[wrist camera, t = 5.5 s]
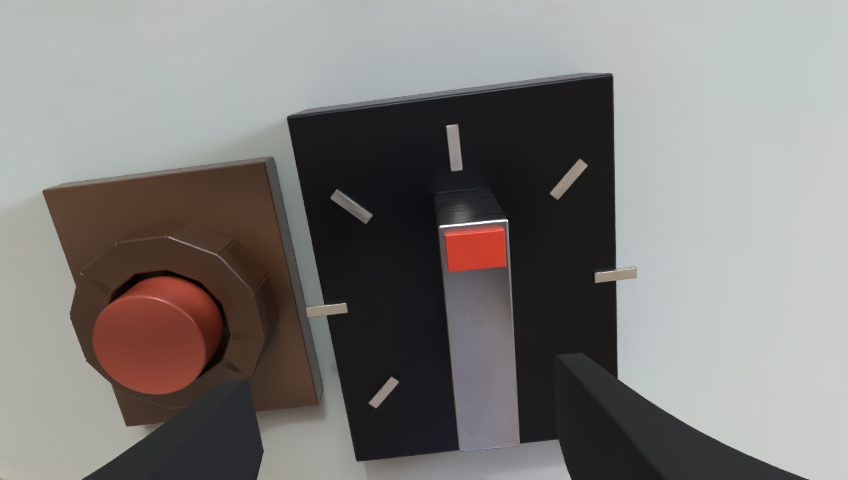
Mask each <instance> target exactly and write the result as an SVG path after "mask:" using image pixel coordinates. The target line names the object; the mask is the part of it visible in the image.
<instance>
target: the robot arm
mask: <svg viewBox="0 0 848 480" xmlns="http://www.w3.org/2000/svg"><path fill="white" fill-rule="evenodd" d="M555 364H556V431H557V435H558V439H559V442H560V446H561V449H562V453H563V456H564V460H565V463H566V466H567V470H568V472H569V474H570V477H571V479H572V480H808V479H805V478H803V477H800V476H798V475H795V474H792V473H790V472H787V471H785V470H782V469H779V468H777V467H775V466H772V465H770V464H768V463H765V462H763V461H761V460H758V459H756V458H754V457H751V456H749V455H747V454H744V453H742V452H740V451H738V450H736V449H734V448H731V447H729V446H727V445H725V444H723V443H721V442H719V441H717V440H715V439H714V438H712V437H710V436H708V435H706V434H704V433H702V432H700V431H698V430H696V429H694V428H693V427H691V426H689V425H687V424H685V423H684V422H682V421H680V420H679V419H677V418H675V417H674V416H672V415H671V414H669V413H667V412H666V411H664V410H662V409H661V408H659V407H658V406H656V405H655V404H653V403H651V402H650V401H648V400H647V399H645V398H644V397H642V396H641V395H640V394H638V393H637V392H635V391H634V390H632V389H631V388H629V387H628V386H627V385H625V384H624V383H622V382H621V381H620V380H618V379H617V378H616V377H614V376H613V375H612V374H610V373H609V372H607V371H606V370H605V369H603V368H602V367H601V366H599V365H598V364H597V363H595V362H594V361H593V360H591V359H590V358H588V357H587V356H586V355H584V354H583V353H575V354H562V355H555ZM263 452H264V450H263V446H262V441H261V436H260V432H259V427H258V422H257V418H256V413H255V408H254V404H253V399H252V394H251V390H250V385H249V380H248V379H240V380H227V381H222V382H220V383H218V384H217V385H215V386H214V387H212V388H211V389H209V390H208V391H207V392H205V393H204V394H203V395H201V396H200V397H199V398H197V399H196V400H195V401H193V402H192V403H191V404H189V405H188V406H187V407H185V408H184V409H183V410H181V411H180V412H179V413H177V414H176V415H175V416H173V417H172V418H171V419H169V420H168V421H167V422H165V423H164V424H163V425H161V426H160V427H159V428H158V429H156V430H155V431H153V432H152V433H151V434H149V435H148V436H146V437H145V438H144V439H142V440H141V441H139V442H138V443H136V444H135V445H134V446H132V447H131V448H129V449H128V450H126V451H125V452H123V453H122V454H121V455H119V456H118V457H116V458H115V459H113V460H112V461H110V462H109V463H107V464H106V465H104V466H103V467H101V468H100V469H98V470H96V471H95V472H93V473H92V474H90V475H89V476H87V477H85V478H84V479H82V480H257V476H258V473H259V468H260V464H261V460H262V456H263Z"/></svg>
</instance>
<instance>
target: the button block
mask: <svg viewBox="0 0 848 480" xmlns="http://www.w3.org/2000/svg"><path fill="white" fill-rule="evenodd" d="M43 195H44V198H45V200H46V203H47V206H48V209H49V211H50V214H51V217H52V220H53V223H54V225H55V228H56V231H57V234H58V237H59V239H60V242H61V245H62V248H63V251H64V253H65V256H66V259H67V262H68V265H69V267H70V270H71V273H72V276H73V278H74V281H75V284H76V290H75V294H74V298H73V303H72V307H71V311H70V318H71V321H72V324H73V327H74V329H75V332H76V335H77V337H78V340H79V343H80V345H81V348H82V351H83V354H84V356H85V358H86V361H87V362H88V363H89V364H90V365H91V366H92V367H93V368H94V369H96V370H97V371H98V372H99V373H100V374H101V375H102V376H103V377H104V378H105V379H107V380H108V381H109V382H110V383H111V385H112V387H113V390H114V393H115V396H116V398H117V401H118V404H119V407H120V410H121V412H122V415H123V418H124V421H125V424H126V426H127V427H128V426H137V425H146V424H155V423H163V422H167V421H168V420H169V419H171V418H172V417H173V416H175V415H176V414H177V413H179V412H180V411H181V410H183V409H184V408H185V407H187V406H188V405H189V404H191V403H192V402H193V401H195V400H196V399H197V398H199V397H200V396H201V395H203V394H204V393H205V392H207V391H208V390H209V389H211V388H212V387H214V386H215V385H217V384H218V383H220V382H222V381H227V380H240V379H248V380H249V385H250V390H251V394H252V399H253V404H254V408H255V412H259V411H268V410H276V409H285V408H294V407H303V406H311V405H318V403H319V400H320V396H321V393H322V390H323V386H322V381H321V376H320V372H319V367H318V363H317V358H316V353H315V349H314V344H313V339H312V335H311V330H310V325H309V321H308V317H307V312H306V307H305V302H304V298H303V293H302V288H301V284H300V279H299V274H298V270H297V265H296V260H295V256H294V251H293V246H292V242H291V237H290V232H289V228H288V223H287V219H286V214H285V209H284V205H283V200H282V195H281V191H280V186H279V181H278V177H277V172H276V167H275V163H274V158H273V157H264V158H256V159H249V160H241V161H233V162H225V163H218V164H210V165H202V166H194V167H187V168H179V169H171V170H164V171H156V172H148V173H140V174H133V175H125V176H117V177H109V178H102V179H94V180H86V181H78V182H71V183H63V184H60V185H57V186H54V187H51V188H48V189H44V190H43ZM159 276H169V277H177V278H181V279H184V280H187V281H189V282H191V283H193V284H195V285H197V286H199V287H200V288H201V289H203V290H204V291H205V292H206V293H207V294H208V295H209V296H210V297H211V298H212V299H213V301H214V302H215V304H216V305H217V307H218V309H219V311H220V314H221V317H222V321H223V337H222V341H221V343H220V346H219V348H218V349H217V351H216V352H215V354H214V355H213V356H212V358H211V359H210V361H209V362H208V363H207V365H206V366H205V368H204V369H203V370H202V372H201V373H200V374H199V376H198V377H197V378H196V379H195V380H194V381H193V382H192V383H191V384H190V385H188V386H187V387H185V388H183V389H181V390H179V391H176V392H172V393H168V394H159V395H156V394H146V393H141V392H137V391H134V390H132V389H129V388H127V387H125V386H123V385H122V384H120V383H119V382H117V381H116V380H115V379H113V378H112V377H111V376H110V375H109V374H108V373H107V372H106V371H105V370H104V368H103V367H102V366H101V364H100V362H99V361H98V359H97V356H96V354H95V351H94V348H93V329H94V325H95V322H96V320H97V318H98V316H99V315H100V313H101V312H102V311H103V310H104V309H105V308H106V307H107V306H108V305H109V304H111V303H112V302H113V301H115V300H116V299H117V298H119V297H120V296H121V295H123V294H124V293H125V292H126V291H128V290H129V289H130V288H132V287H133V286H135V285H136V284H137V283H139V282H141V281H143V280H146V279H149V278H152V277H159Z"/></svg>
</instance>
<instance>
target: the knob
mask: <svg viewBox="0 0 848 480" xmlns="http://www.w3.org/2000/svg"><path fill="white" fill-rule="evenodd" d="M434 201H435V211H436V222H437V232H438V243H439V253H440V263H441V274H442V284H443V295H444V305H445V316H446V326H447V336H448V347H449V357H450V368H451V378H452V388H453V397H454V407H455V416H456V425H457V435H458V444H459V450H460V451H471V450H482V449H493V448H505V447H516V446H519V444H520V437H519V418H518V399H517V379H516V360H515V341H514V322H513V303H512V284H511V265H510V245H509V226H508V220H507V218H506V216H505V214H504V213H503V211H502V209H501V208H500V206H499V204H498V203H497V201H496V199H495V198H494V196H493V194H492V193H491V191H490V190H489V189H485V190H475V191H465V192H455V193H445V194H436V195H435V196H434Z"/></svg>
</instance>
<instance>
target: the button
mask: <svg viewBox="0 0 848 480" xmlns="http://www.w3.org/2000/svg"><path fill="white" fill-rule="evenodd" d="M222 337H223V321H222V317H221V314H220V311H219V309H218V307H217V305H216V304H215V302H214V301H213V299H212V298H211V297H210V296H209V295H208V294H207V293H206V292H205V291H204V290H203V289H201V288H200V287H199V286H197V285H195V284H193V283H191V282H189V281H187V280H184V279H181V278H177V277H169V276H159V277H152V278H149V279H146V280H143V281H141V282H139V283H137V284H136V285H135V286H133V287H132V288H130V289H129V290H128V291H126V292H125V293H124V294H123V295H121V296H120V297H119V298H117V299H116V300H115V301H113V302H112V303H111V304H109V305H108V306H107V307H106V308H105V309H104V310H103V311H102V312H101V313H100V315H99V316H98V318H97V320H96V322H95V325H94V329H93V348H94V351H95V354H96V356H97V359H98V361H99V362H100V364H101V366H102V367H103V368H104V370H105V371H106V372H107V373H108V374H109V375H110V376H111V377H112V378H113V379H115V380H116V381H117V382H119V383H120V384H122V385H123V386H125V387H127V388H129V389H132V390H134V391H137V392H141V393H146V394H156V395H159V394H168V393H172V392H176V391H179V390H181V389H183V388H185V387H187V386H188V385H190V384H191V383H192V382H193V381H194V380H195V379H196V378H197V377H198V376H199V374H200V373H201V372H202V370H203V369H204V368H205V366H206V365H207V363H208V362H209V361H210V359H211V358H212V356H213V355H214V354H215V352H216V351H217V349H218V348H219V346H220V343H221V341H222Z"/></svg>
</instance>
